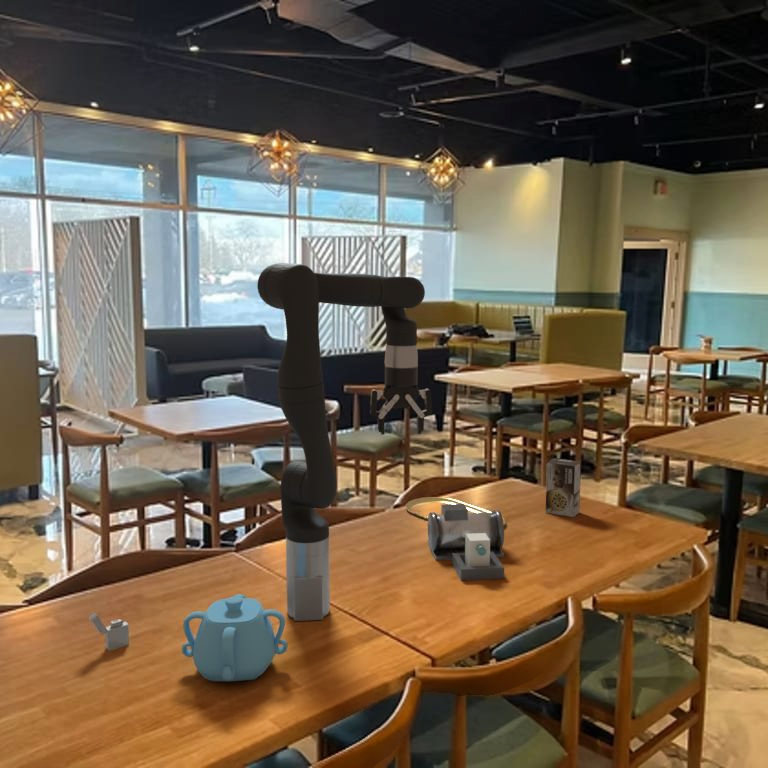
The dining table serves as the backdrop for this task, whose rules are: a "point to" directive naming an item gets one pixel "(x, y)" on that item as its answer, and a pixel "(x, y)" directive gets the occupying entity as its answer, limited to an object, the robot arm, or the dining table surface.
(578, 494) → the coffee box
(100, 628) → the lighter
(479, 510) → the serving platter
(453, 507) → the motor
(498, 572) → the tray
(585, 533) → the dining table surface
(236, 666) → the decorative pot
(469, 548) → the white box with button
